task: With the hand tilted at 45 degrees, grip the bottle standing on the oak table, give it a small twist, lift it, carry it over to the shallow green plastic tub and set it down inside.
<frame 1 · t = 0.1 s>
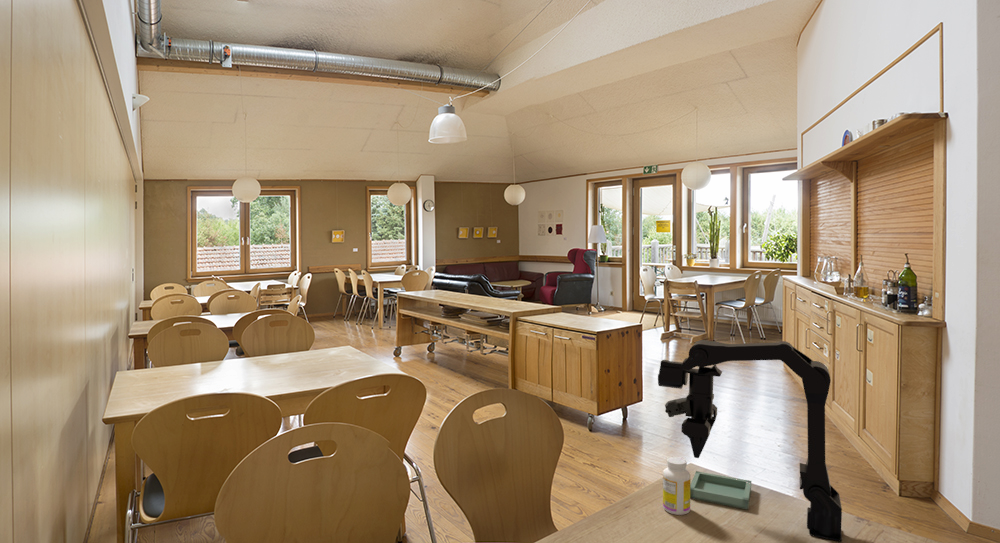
hand: (699, 451, 145), 15 cm above the table, tool pointing down, fingers open, 9 cm apart
supplement bottle: (676, 510, 145), on the table
tub: (720, 493, 153), on the table
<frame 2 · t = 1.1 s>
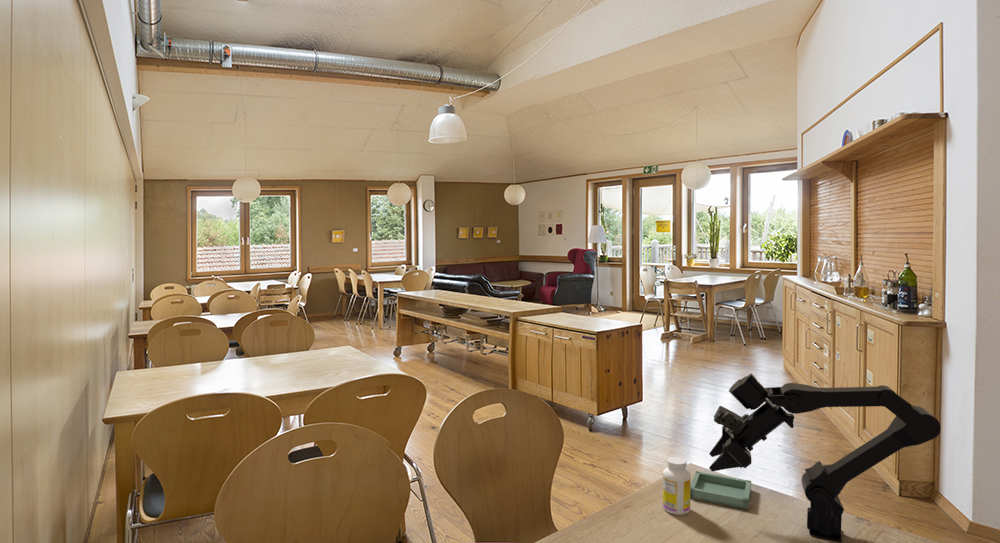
hand: (710, 462, 142), 13 cm above the table, tool tilted 45°, fingers open, 9 cm apart
nothing on the table moved.
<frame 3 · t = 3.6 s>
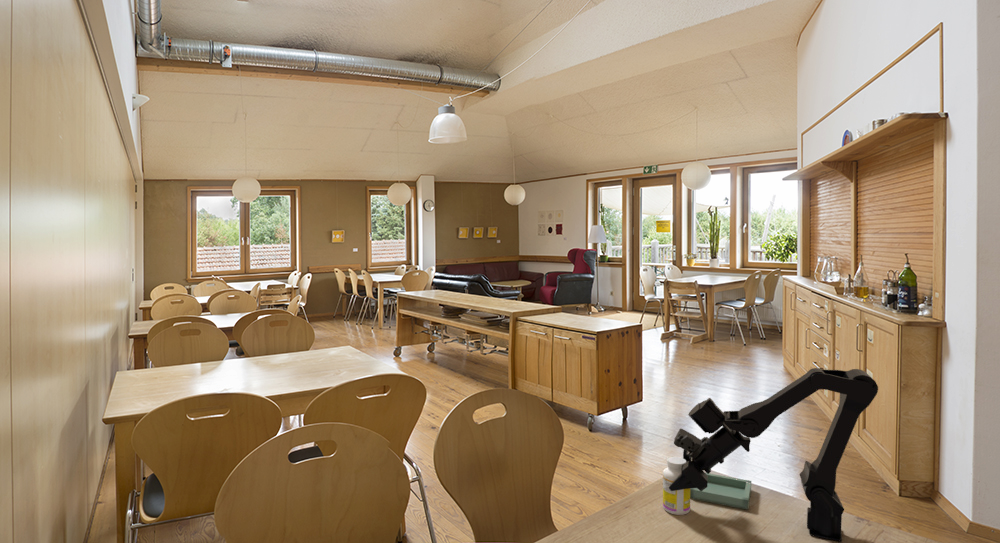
hand: (670, 483, 145), 7 cm above the table, tool tilted 45°, fingers closed on supplement bottle, 6 cm apart
supplement bottle: (676, 510, 145), on the table, touching gripper
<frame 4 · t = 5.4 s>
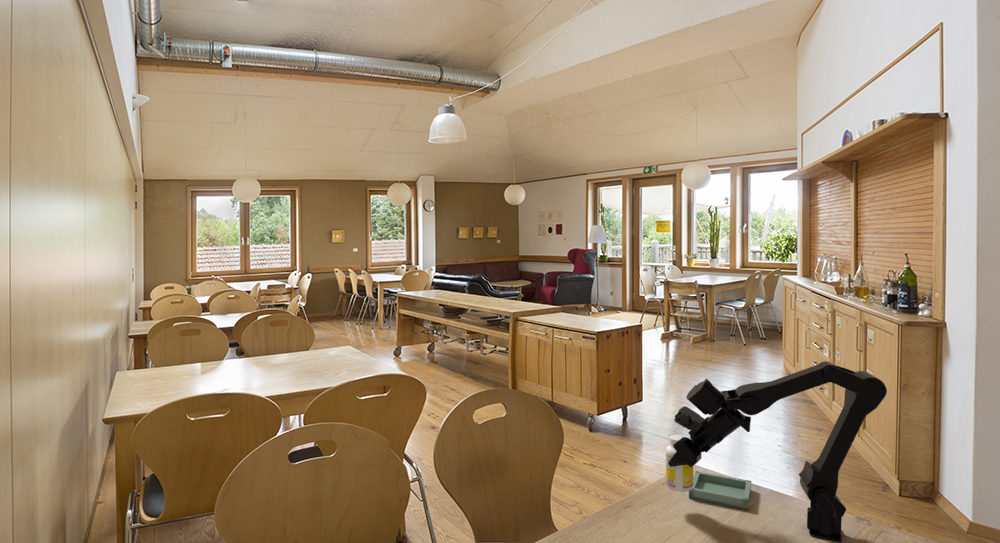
hand: (674, 460, 146), 12 cm above the table, tool tilted 45°, fingers closed on supplement bottle, 6 cm apart
supplement bottle: (679, 487, 145), point 5 cm above the table, touching gripper
when the fingers open (9 cm above the table, at t = 7.5 s): supplement bottle drops 1 cm, resting on tub.
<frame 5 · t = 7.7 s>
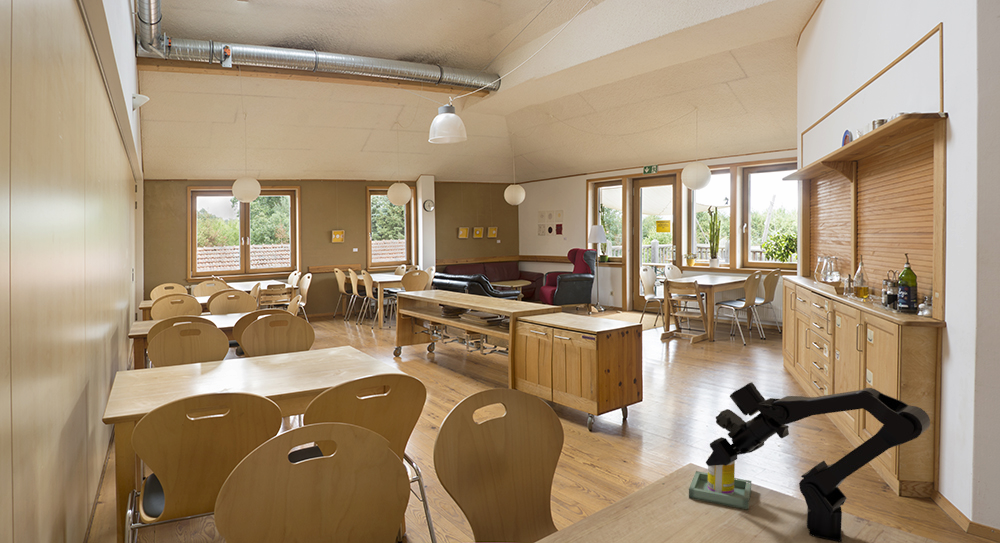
hand: (716, 459, 154), 9 cm above the table, tool tilted 45°, fingers open, 9 cm apart
supplement bottle: (720, 492, 153), resting on tub
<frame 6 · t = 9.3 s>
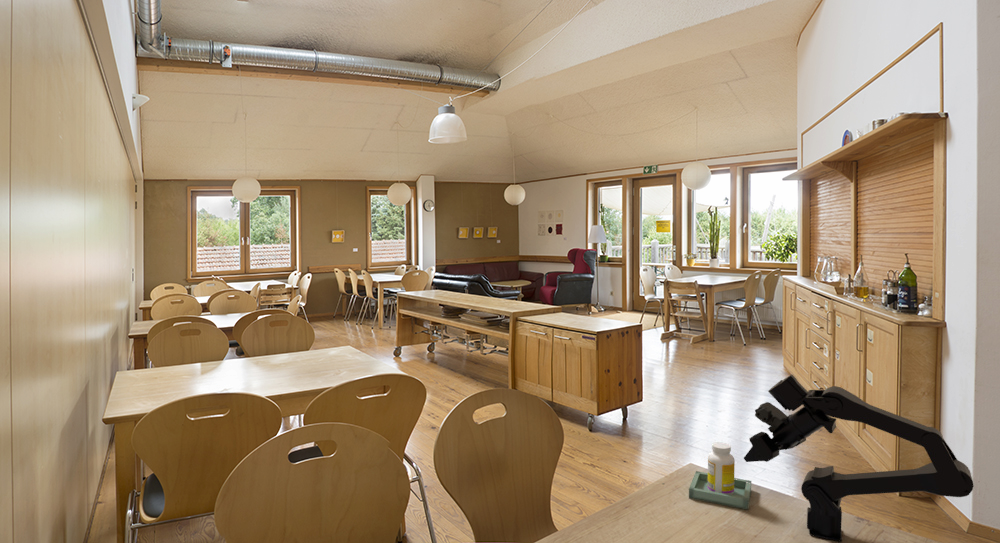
hand: (754, 455, 145), 14 cm above the table, tool tilted 45°, fingers open, 9 cm apart
nothing on the table moved.
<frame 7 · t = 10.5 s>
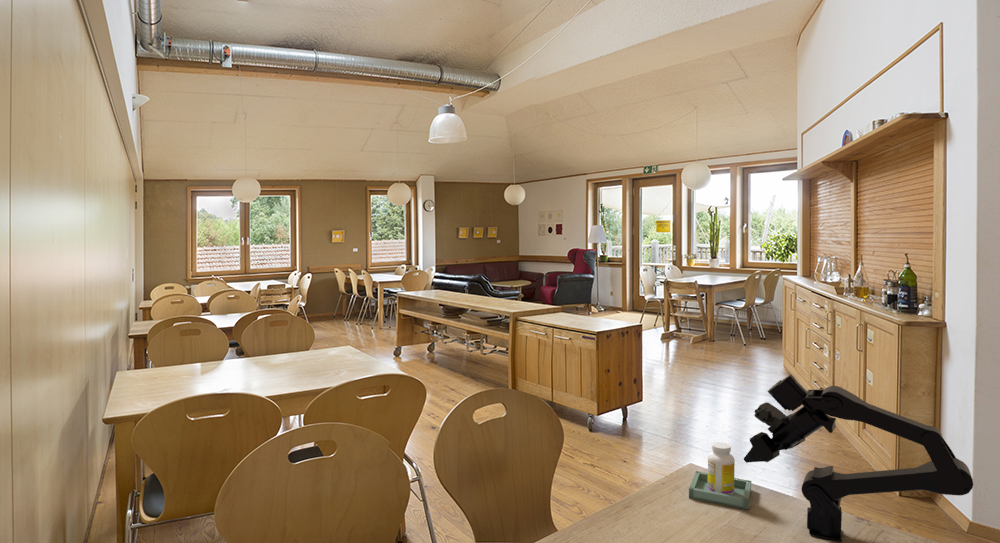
hand: (753, 455, 145), 14 cm above the table, tool tilted 45°, fingers open, 9 cm apart
nothing on the table moved.
at the end: supplement bottle inside the target area on the tub (0.2 cm from its centre), point 0.4 cm above the tub's base; the gripper is holding nothing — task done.
